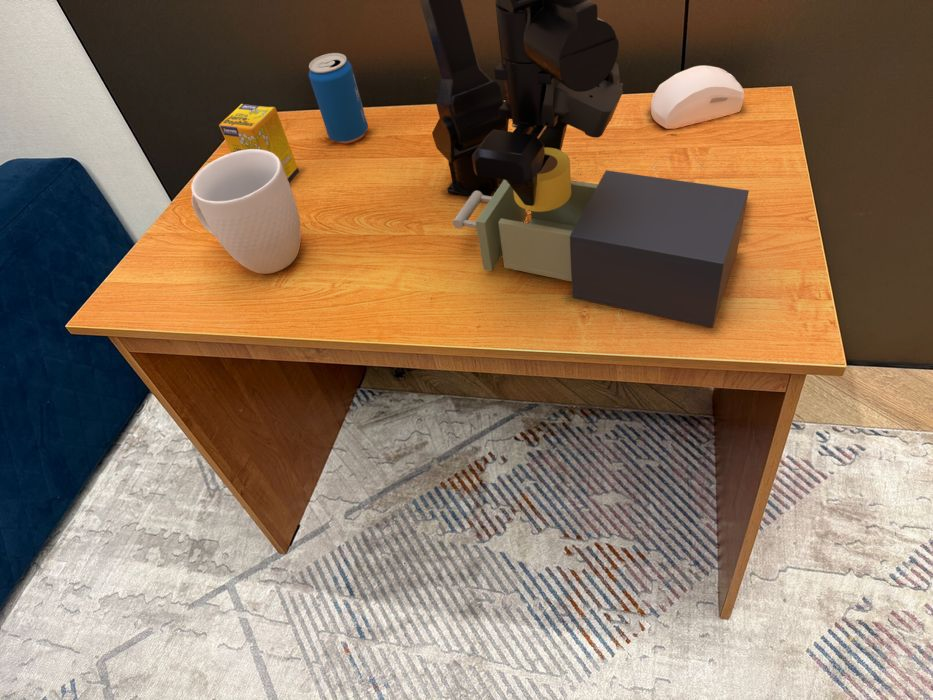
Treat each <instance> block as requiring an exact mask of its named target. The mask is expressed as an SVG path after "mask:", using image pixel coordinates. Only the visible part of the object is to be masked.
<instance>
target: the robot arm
mask: <svg viewBox="0 0 933 700" xmlns="http://www.w3.org/2000/svg"><path fill="white" fill-rule="evenodd" d="M494 1H495V12H496V13H495V14H496V23H497V31H498V39H499V40H498V41H499V49H500V50H499V51H500V58H501V59H500V62H499V63H498V64H497V66H496V67H495V68H494V70H493V71H494V80H492V79H491V78H490V77H489V76H488V75H487V74H486V73H485V72H484V71H483V70H482V69H481V68H480V65H479V62H478V58H477V57H478V56H477V54H476V51H475V47H474V43H473V38H472V35H471V31H470V27H469V24H468V20H467V16H466V12H465V9H464V4H463V0H419V3H420V7H421V10H422V14H423V17H424V20H425V24H426V27H427V30H428V34H429V37H430V38H429V39H430V40H431V45H432V48H433V51H434V56H435V58H436V59H435V60H436V63H437V66H438V69H439V72H440V76H441V80H440V85H439V89H438V92H437V98H436V102H435V104H436V109H437V113H438V117H439V119H438V120H437V123H436V124H435V126H434V128H433V130H432V131H431V136H432V139H433V142H434V145H435V147H436V149H437V150H438V151H439V152H440V154H441V155H442V156H443V157H444V158H445V159H446V160H447V162H448V167H449V172H450V177H451V183H450V184H449V185H448V187H447V190H446V191H447V193H448V194H451V195H458V196H463V197H468V198H470V196H471V195H472V193H473V192H474V191H480V192H481V193H482V194H483V195H485V196H491V197H493V195H494V194H495V192H496V191H497V189H498V188H499V186H500V185H501V183H502V182H503V181H504V180H506V181H507V182H508V183H509V185H510V186H511V187H512V189H513V190H514V191H515V193H516V194H517V195H518V196H519V198H520V199H521V200H522V202H523V203H524V204H525V205H529V206H533V205H534V204H535V198H536V188H537V174H538V173H539V172H540V171H541V170H542V168H543V167H544V165H545V164H546V162H547V161H548V159H549V157H550V155H545V151H544V147H548V148H555V149H558V150H561V151H562V148H563V145H564V140H565V137H566V132H567V129H568V126H570V127H572V128H575V129H577V130H579V131H581V132H583V133H584V134H585V135H586V136H588V137H590V138H595V139H597V138H601V137H602V136H603V135H604V132H605V130H606V129H607V127H608V126H609V123H610V122H611V121H612V119H613V116H614V114H615V111H616V110H617V108H618V105H619V102H620V99H621V97H622V95H623V93H624V89H623V87H624V83H623V82H620V79H621V78H620V70H619V69H620V67H619V63H617V58H618V55H619V49H620V48H619V47H620V46H619V45H620V43H619V42H620V41H619V39H618V38H617V35H616V32H615V29H614V28H613V27H612V26H611V25H610V23H608V22H606V21H605V20H603V19H601V18H599V17H598V15H599V14H598V12H599V11H598V10H599V9H598V5H597V3H595V2H593V1H591V0H494ZM496 80H499V81H503V87H504V88H503V89H504V96H505V100H504V99H503V95H502V89H501V86H500V84H499V83H498V82H497V81H496ZM510 120H511V122H512V123H511V126H512V128H514V130H513V131H509V123H510Z"/></svg>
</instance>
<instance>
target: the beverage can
mask: <svg viewBox="0 0 933 700" xmlns="http://www.w3.org/2000/svg"><path fill="white" fill-rule="evenodd" d="M308 69H309V71H308V78H309V81H310V84H311V87H312V90H313V93H314V96H315V99H316V103H317V105H318V109H319V111H320V115H321V118H322V121H323V124H324V128H325V131H326V133H327V136H328V138H329V139H330V140H331V141H333V142H336V143H338V144H350V143H354V142H356V141H359V140H360V139H361V138H363V136H364V135H365V134H366V132H367V131H368V129H369V125H368V120H367V117H366V114H365V110H364V106H363V103H362V99H361V96H360V91H359V88H358V85H357V82H356V78H355V74H354V71H353V66H352V64H351V62H350V61H349V60H348V59H347V56H346V55H345V54H343V53H339V52H330V53H326V54H323V55H320V56H319V55H318V56H317V57H315V58H314V59H312V60H311V61H310V62H309V65H308Z"/></svg>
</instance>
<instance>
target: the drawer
mask: <svg viewBox="0 0 933 700" xmlns="http://www.w3.org/2000/svg"><path fill="white" fill-rule="evenodd" d="M598 184H599V183H591V182H586V181H580V180H572V179H571V196H570V198H569V200H568V201H567V202H566V203H565V204H564V205H562V206H561V207H559V208H556V209H554V210H550V211H544V212H534V211H530V217H531V218H530V220H529V222H524V221H525V220H526V218H527V210H526V209H523V208H522V207H520V206H519V205H518V204H517V203H516V201H515V199H514V191H513V189H512V187H511V186H510V185H509V183H508V182H507V181H506V180H503V181H502V182H501V184H500V185H499V187H498V188H497V189H496V190H495V192H494V193H493V195H492V196H485V195H483V194H482V193H481V192H480V191H474V192H473V193H472V195H471V196H470V197H468V199H467V200H466V202H465V203H464V204H463V206H462V207H461V209H460V210H459V211H458V213H457V214H456V216H455V217H454V218H453V220H452V221H451V224H452V226H453V227H454V228H455V229H457V230H461V229H462V228H463V227H466V228H472V229H475V230H476V232H477V239H478V245H479V252H480V257H481V264H482V269H483V270H484V271H489V272H490V271H491V272H493V271H494V269H495V267H496V266H497V264H498V262H499V261H500V260H501V258H502V259H503V266H504V268H505V269H509V270H514V271H519V272H523V273H528V274H533V275H538V276H543V277H548V278H553V279H557V280H563V281H567V282H571V283H572V279H571V255H570V235H571V233H572V231H573V229H574V227H575V226H576V224H577V222H578V220H579V218H580V216H581V215H582V213H583V211H584V209H585V207H586V206H587V204H588V202H589V200H590V198H591V197H592V195H593V193H594V191H595V189H596V188H597V186H598ZM481 202H483V203H487V204H486V205H485V206H484V208H483V210H482V211H481V212H480V214H479V215H478V217H477V218H476V219H475V220H469V219H470V218H471V216H472V215H473V214H474V212H475V210H476V209H477V208H478V206H479V204H480V203H481Z"/></svg>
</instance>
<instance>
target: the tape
mask: <svg viewBox="0 0 933 700" xmlns="http://www.w3.org/2000/svg"><path fill="white" fill-rule="evenodd" d="M544 151H545V155H550V157H549V159H548V161H547V162H546V164H545V165H544V167H543V168H542V170H541V171H540V172H539V173H538V174H537V188H536V198H535V204H534V205H533V206H529V205H525V204H524V203H523V202H522V200H521V199H520V198H519V196H518V195H517V194H516V193H515V191H514V190H513V191H514V199H515V201H516V203H517V204H518V205H519V206H520V207H522V208H523V209H526V211H530V212H531V211H534V212H544V211H550V210H554V209H556V208H559V207H561V206H562V205H564V204H565V203H566V202H567V201H568V200H569V198H570V196H571V180H572V177H571V176H572V175H571V172H572V171H571V159H570V157H569V155H568V154H567V153H565V152H564V151H563V150H562V149H561V150H558V149H555V148H548V147H544Z"/></svg>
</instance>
